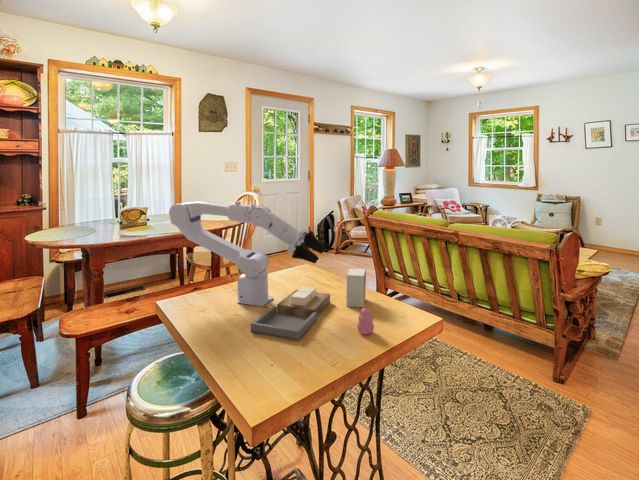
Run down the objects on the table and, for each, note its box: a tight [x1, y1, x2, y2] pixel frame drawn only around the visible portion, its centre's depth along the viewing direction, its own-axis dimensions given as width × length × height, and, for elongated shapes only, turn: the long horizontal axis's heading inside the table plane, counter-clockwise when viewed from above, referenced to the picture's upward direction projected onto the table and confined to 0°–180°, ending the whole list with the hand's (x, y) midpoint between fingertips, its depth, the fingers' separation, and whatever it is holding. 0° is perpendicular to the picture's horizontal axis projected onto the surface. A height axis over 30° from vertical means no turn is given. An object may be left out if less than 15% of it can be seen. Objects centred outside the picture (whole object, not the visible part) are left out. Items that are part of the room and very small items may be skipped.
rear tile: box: [297, 286, 317, 300], centre depth 116 cm, size 4×4×2 cm
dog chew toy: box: [356, 306, 375, 335], centre depth 97 cm, size 4×4×7 cm
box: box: [250, 305, 318, 342], centre depth 102 cm, size 14×13×2 cm
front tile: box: [291, 291, 310, 306], centre depth 111 cm, size 4×4×2 cm
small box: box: [346, 268, 367, 308], centre depth 118 cm, size 8×6×10 cm
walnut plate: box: [276, 289, 331, 318], centre depth 114 cm, size 12×14×3 cm
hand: (320, 255), depth 114 cm, fingers open, 7 cm apart
